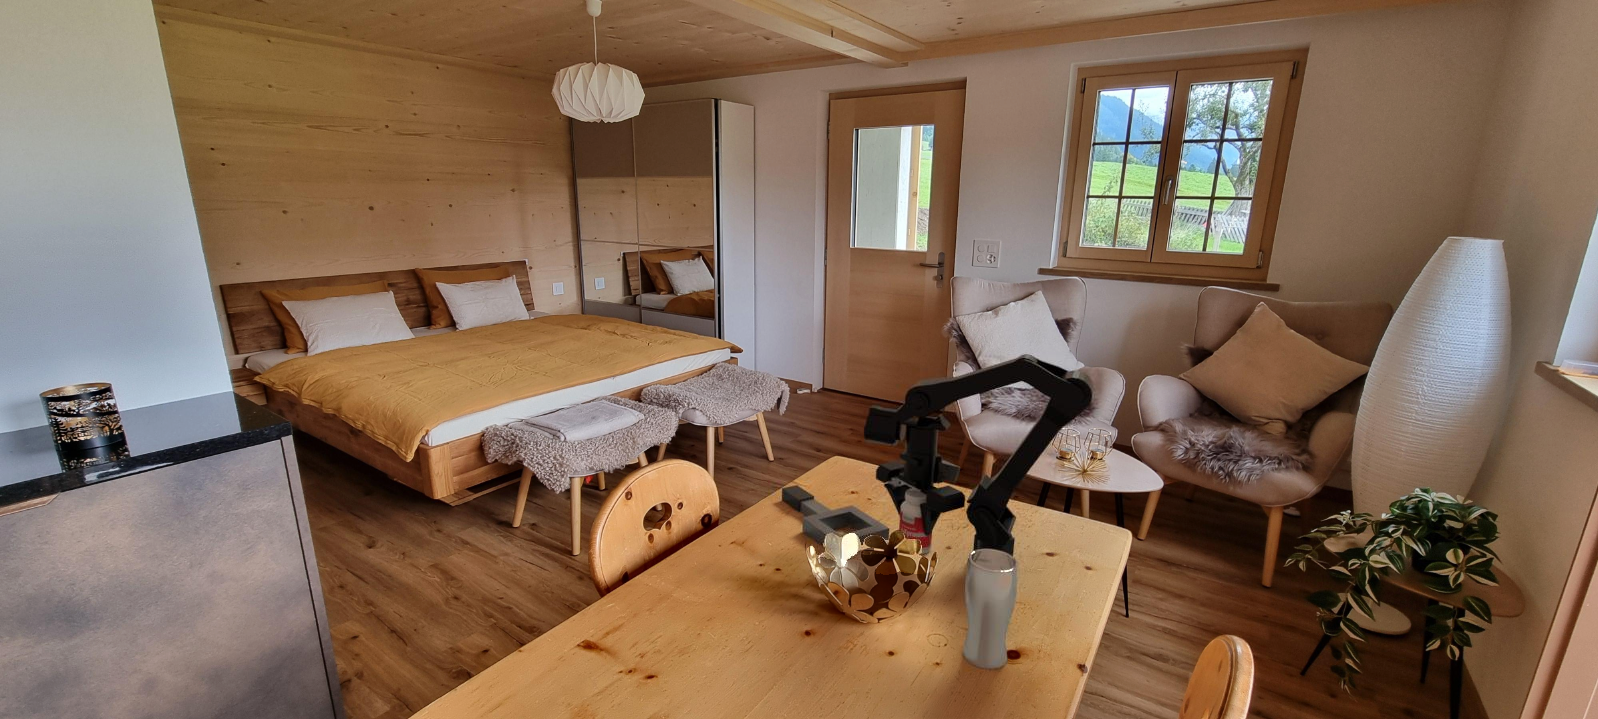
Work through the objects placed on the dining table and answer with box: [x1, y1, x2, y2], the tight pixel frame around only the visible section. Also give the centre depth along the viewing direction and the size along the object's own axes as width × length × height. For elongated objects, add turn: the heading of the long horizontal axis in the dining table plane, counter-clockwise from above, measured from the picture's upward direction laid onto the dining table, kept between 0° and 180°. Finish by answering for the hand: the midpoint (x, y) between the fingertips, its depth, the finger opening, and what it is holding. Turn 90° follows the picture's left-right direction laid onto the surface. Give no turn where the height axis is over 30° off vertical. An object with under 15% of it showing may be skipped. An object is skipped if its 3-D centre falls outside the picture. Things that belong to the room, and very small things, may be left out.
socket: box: [781, 484, 890, 548], centre depth 140 cm, size 27×12×3 cm, turn 32°
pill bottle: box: [898, 489, 933, 555], centre depth 129 cm, size 6×6×11 cm
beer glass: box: [962, 549, 1019, 670], centre depth 97 cm, size 7×7×15 cm
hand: (915, 528), depth 129 cm, fingers closed on pill bottle, 6 cm apart
